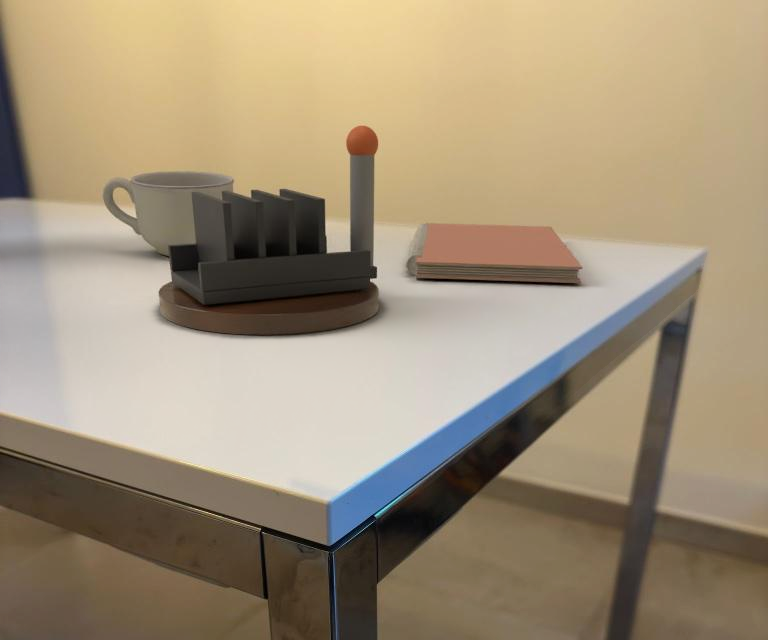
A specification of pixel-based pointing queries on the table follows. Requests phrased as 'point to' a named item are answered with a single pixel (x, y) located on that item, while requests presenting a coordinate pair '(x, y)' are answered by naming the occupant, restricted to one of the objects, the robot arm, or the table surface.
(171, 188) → the teacup
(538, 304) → the table surface
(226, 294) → the dish rack
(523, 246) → the notebook
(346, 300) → the turntable
